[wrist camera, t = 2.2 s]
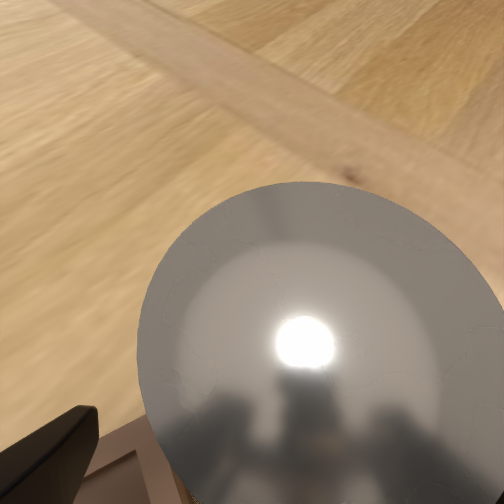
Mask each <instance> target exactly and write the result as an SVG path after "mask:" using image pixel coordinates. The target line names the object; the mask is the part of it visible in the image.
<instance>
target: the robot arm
mask: <svg viewBox="0 0 504 504" xmlns="http://www.w3.org/2000/svg"><path fill="white" fill-rule="evenodd" d="M98 441H99V424H98V411H97V408H96V407H95V406H87V405H78V406H75V407H74V408H72V409H70V410H69V411H67V412H65V413H64V414H62V415H61V416H59V417H57V418H56V419H54V420H52V421H51V422H49V423H47V424H46V425H44V426H43V427H41V428H39V429H38V430H36V431H34V432H33V433H31V434H29V435H28V436H26V437H25V438H23V439H21V440H20V441H18V442H16V443H15V444H13V445H11V446H10V447H8V448H7V449H5V450H3V451H2V452H0V504H73V502H74V500H75V497H76V495H77V493H78V490H79V488H80V485H81V483H82V481H83V478H84V476H85V474H86V471H87V469H88V467H89V464H90V462H91V459H92V457H93V455H94V452H95V450H96V448H97V445H98ZM495 504H504V491H503V493H502V494H501V496H500V497H499V499H498V500H497V502H496V503H495Z"/></svg>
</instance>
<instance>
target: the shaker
mask: <svg viewBox="0 0 504 504" xmlns="http://www.w3.org/2000/svg"><path fill="white" fill-rule="evenodd" d="M137 366H138V376H139V385H140V389H141V394H142V398H143V402H144V406H145V410H146V414H147V416H148V419H149V422H150V424H151V427H152V429H153V432H154V434H155V437H156V440H157V442H158V444H159V445H160V447H161V449H162V451H163V453H164V454H165V456H166V458H167V460H168V462H169V463H170V465H171V467H172V469H173V470H174V471H175V473H176V474H177V475H178V477H179V478H180V479H181V481H182V482H183V483H184V485H185V486H186V487H187V489H188V490H189V491H190V493H191V494H192V495H193V496H194V497H195V498H196V499H197V500H198V501H199V502H200V503H201V504H495V503H496V502H497V500H498V499H499V497H500V496H501V494H502V493H503V491H504V311H503V309H502V306H501V305H500V303H499V301H498V300H497V298H496V296H495V294H494V293H493V291H492V289H491V288H490V286H489V284H488V283H487V282H486V280H485V279H484V278H483V276H482V275H481V274H480V272H479V271H478V269H477V268H476V267H475V265H474V264H473V263H472V262H471V261H470V260H469V259H468V258H467V257H466V255H465V254H464V253H463V252H462V251H461V250H460V249H459V248H458V247H457V246H456V245H455V244H454V243H453V242H452V241H450V240H449V239H448V238H447V237H446V236H445V235H444V234H443V233H441V232H440V231H439V230H437V229H436V228H435V227H434V226H432V225H431V224H430V223H428V222H427V221H426V220H424V219H422V218H421V217H419V216H418V215H416V214H414V213H413V212H411V211H410V210H408V209H406V208H404V207H402V206H400V205H398V204H396V203H394V202H392V201H390V200H388V199H385V198H383V197H380V196H378V195H375V194H373V193H370V192H366V191H363V190H360V189H356V188H353V187H348V186H343V185H338V184H331V183H321V182H290V183H279V184H274V185H269V186H263V187H259V188H256V189H253V190H250V191H246V192H243V193H241V194H239V195H236V196H234V197H232V198H229V199H227V200H225V201H224V202H222V203H220V204H218V205H217V206H215V207H213V208H211V209H210V210H208V211H207V212H206V213H204V214H203V215H202V216H200V217H199V218H198V219H196V220H195V221H194V222H193V223H192V224H191V225H190V226H189V227H188V228H187V229H186V230H184V231H183V232H182V233H181V235H180V236H179V237H178V238H177V239H176V241H175V242H174V243H173V244H172V245H171V247H170V248H169V249H168V251H167V252H166V254H165V255H164V257H163V259H162V260H161V262H160V263H159V265H158V267H157V269H156V271H155V273H154V275H153V277H152V280H151V282H150V284H149V286H148V289H147V292H146V296H145V299H144V302H143V305H142V309H141V315H140V320H139V326H138V333H137Z"/></svg>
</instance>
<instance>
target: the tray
mask: <svg viewBox="0 0 504 504" xmlns="http://www.w3.org/2000/svg"><path fill="white" fill-rule="evenodd" d="M73 504H194V503H193V500H192V497H191V494H190V491H189V490H188V489H187V487H186V486H185V485H184V483H183V482H182V481H181V479H180V478H179V477H178V475H177V474H176V473H175V471H174V470H173V469H172V467H171V465H170V463H169V462H168V460H167V458H166V456H165V454H164V453H163V451H162V449H161V447H160V445H159V444H158V442H157V440H156V437H155V434H154V432H153V429H152V427H151V424H150V422H149V419H148V416H147V414H145V415H143V416H142V417H140V418H138V419H136V420H134V421H132V422H130V423H128V424H126V425H124V426H122V427H120V428H119V429H117V430H115V431H113V432H111V433H109V434H107V435H105V436H103V437H101V438H99V441H98V445H97V448H96V450H95V452H94V455H93V457H92V459H91V462H90V464H89V467H88V469H87V471H86V474H85V476H84V478H83V481H82V483H81V485H80V488H79V490H78V493H77V495H76V497H75V500H74V502H73Z"/></svg>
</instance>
